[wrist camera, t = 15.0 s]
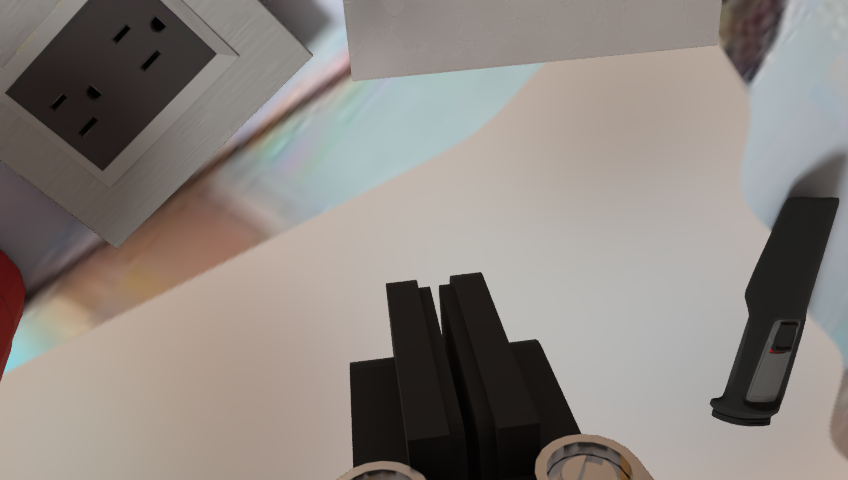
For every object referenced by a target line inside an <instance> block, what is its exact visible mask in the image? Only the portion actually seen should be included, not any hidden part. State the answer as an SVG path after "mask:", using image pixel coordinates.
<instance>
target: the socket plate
mask: <svg viewBox="0 0 848 480" xmlns="http://www.w3.org/2000/svg"><path fill="white" fill-rule="evenodd" d="M343 4H344V12H345V21H346V30H347V38H348V47H349V55H350V64H351V73H352V81H360V80H370V79H380V78H390V77H400V76H411V75H421V74H431V73H441V72H451V71H461V70H471V69H482V68H492V67H502V66H512V65H522V64H532V63H542V62H552V61H563V60H573V59H583V58H593V57H603V56H613V55H623V54H633V53H643V52H654V51H664V50H674V49H684V48H694V47H704V46H714V45H717V41H718V32H719V23H720V13H721V4H722V0H343Z"/></svg>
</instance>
